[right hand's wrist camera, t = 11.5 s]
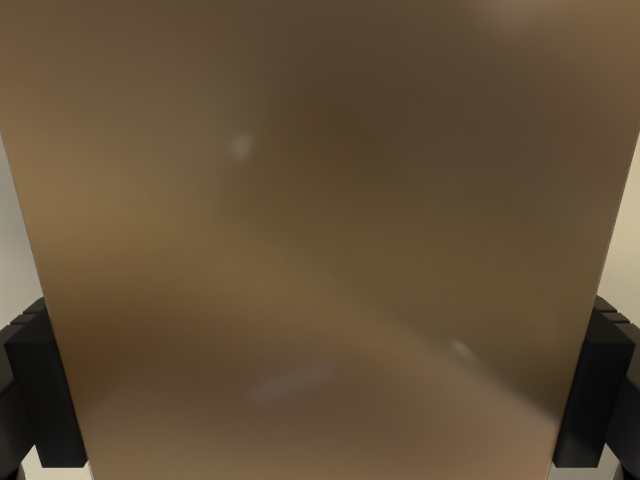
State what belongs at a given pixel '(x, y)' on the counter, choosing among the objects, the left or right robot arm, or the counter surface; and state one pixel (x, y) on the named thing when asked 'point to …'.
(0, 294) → the counter surface
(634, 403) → the right robot arm
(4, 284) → the counter surface
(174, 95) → the wide beam
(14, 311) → the counter surface
